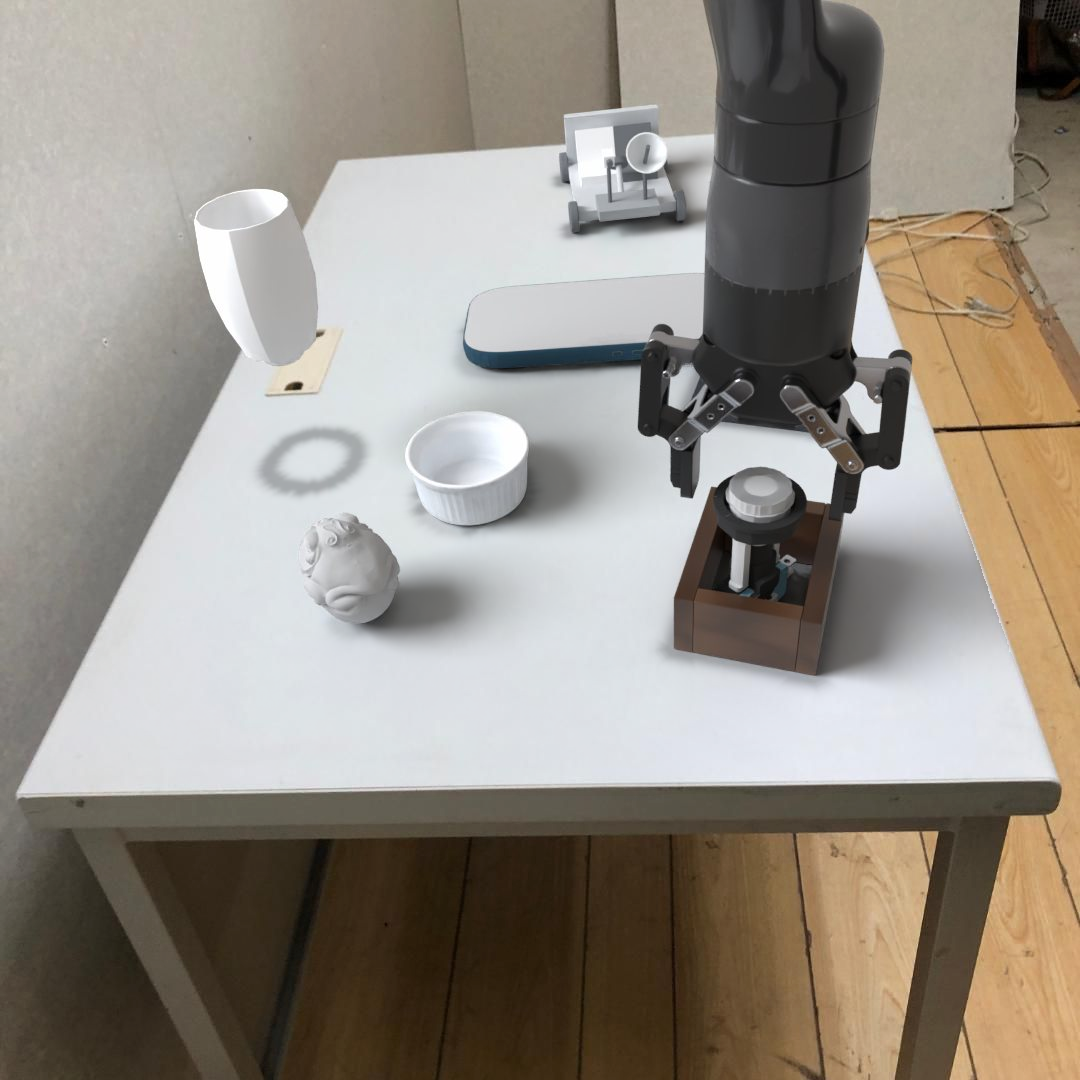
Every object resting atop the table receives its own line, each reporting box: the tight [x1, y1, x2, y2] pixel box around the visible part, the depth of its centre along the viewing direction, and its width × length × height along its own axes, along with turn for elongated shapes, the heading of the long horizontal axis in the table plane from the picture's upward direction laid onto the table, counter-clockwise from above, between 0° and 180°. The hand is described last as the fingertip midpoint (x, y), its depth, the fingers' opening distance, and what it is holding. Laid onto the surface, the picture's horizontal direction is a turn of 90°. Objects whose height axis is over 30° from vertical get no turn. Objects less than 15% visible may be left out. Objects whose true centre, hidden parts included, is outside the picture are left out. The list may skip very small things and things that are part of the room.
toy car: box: [558, 103, 687, 233], centre depth 108 cm, size 18×10×12 cm
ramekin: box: [404, 410, 530, 526], centre depth 77 cm, size 9×9×4 cm
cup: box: [193, 188, 319, 367], centre depth 76 cm, size 7×7×21 cm
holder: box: [673, 486, 845, 676], centre depth 66 cm, size 9×11×4 cm
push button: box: [713, 466, 808, 602], centre depth 65 cm, size 7×5×10 cm
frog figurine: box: [298, 512, 401, 624], centre depth 68 cm, size 6×7×7 cm
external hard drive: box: [462, 272, 705, 369], centre depth 92 cm, size 24×12×2 cm, turn 88°
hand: (762, 500), depth 62 cm, fingers open, 8 cm apart
